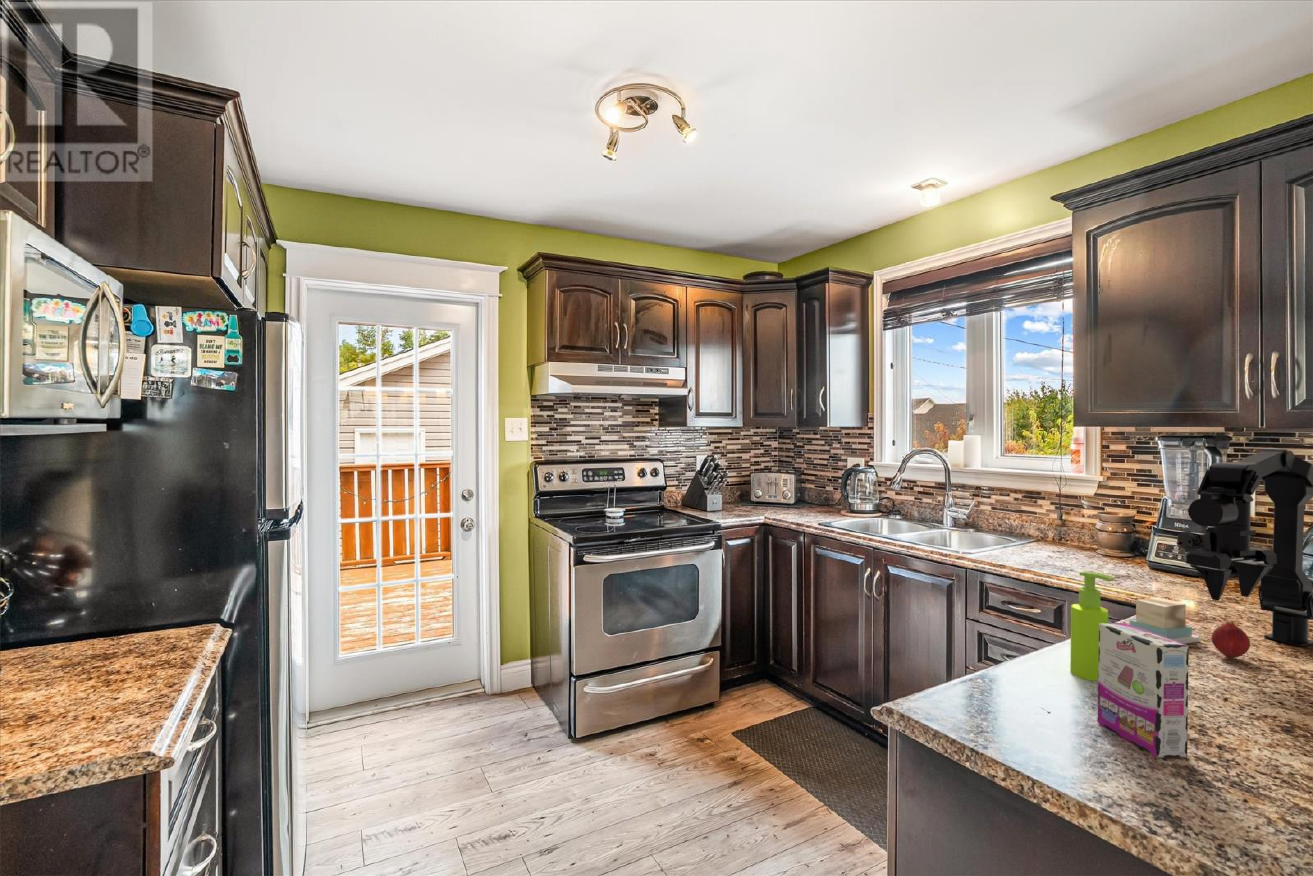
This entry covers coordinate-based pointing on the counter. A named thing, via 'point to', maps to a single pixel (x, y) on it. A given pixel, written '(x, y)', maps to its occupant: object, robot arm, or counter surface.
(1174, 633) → the tower base
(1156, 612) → the maple block
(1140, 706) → the candy bar box
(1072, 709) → the counter surface
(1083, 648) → the soap dispenser
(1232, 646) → the onion
